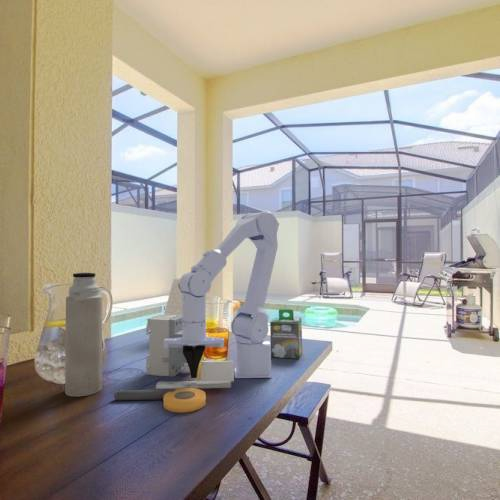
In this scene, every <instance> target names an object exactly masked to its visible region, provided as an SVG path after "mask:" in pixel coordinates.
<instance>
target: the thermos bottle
mask: <svg viewBox="0 0 500 500" xmlns="http://www.w3.org/2000/svg"><path fill="white" fill-rule="evenodd" d="M72 277H73V281H72V285H71V286H70V287H68V296H66V297H65V349H64V350H65V355H64V356H65V362H64V364H65V366H64V367H65V371H64V372H65V373H64V374H65V378H64V380H65V383H64V385H65V386H64V387H65V388H64V393H65V395H66V396H68V397H78V398H79V397H85V396H91V395H94V394H96V393H98V392H100V391H101V390H102V389H103V295H100V290H101V289H100V286H99V285H97V284H96V278H95V277H96V272H95V273H94V272H77V273H72Z"/></svg>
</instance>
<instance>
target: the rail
mask: <svg viewBox="0 0 500 500" xmlns="http://www.w3.org/2000/svg"><path fill="white" fill-rule="evenodd" d="M155 384H156V385H155V390H176V389H182V388H195V389H231V388H232V381H216V382H201V380H183V381H182V380H181V381H178V380H176V381H175V380H174V381H168V380H167V381H157V383H155Z"/></svg>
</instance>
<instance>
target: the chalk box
mask: <svg viewBox="0 0 500 500" xmlns="http://www.w3.org/2000/svg"><path fill="white" fill-rule="evenodd" d="M284 313H286V314H289V315H288V316H285V315H284ZM269 324H270V325H269V329H270V333H269V334H270V347H271V358H279V359H281V358H282V359H294V360H299V359H300V358H301V355H302V353H303V331H302V330H303V329H302V328H303V327H302V317H299V316H298V317H295V316H294V309H283V308H281V309H278V316H276V317H274V318H273V319H272V320H271V321H270V323H269Z"/></svg>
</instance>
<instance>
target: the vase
mask: <svg viewBox="0 0 500 500" xmlns="http://www.w3.org/2000/svg"><path fill="white" fill-rule="evenodd" d="M180 279H181V277H180V278H179V277H178V278H173V279H172V280H173V281H172V285H171V288H170V291H169V295H168V298H167V301H166V306H165V309H164V313H163V315H182V293H181V291H180V290H179V288H178V283H180Z"/></svg>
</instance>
